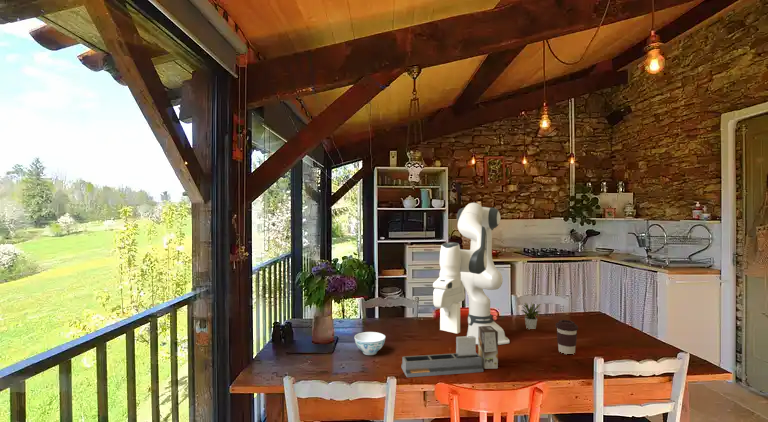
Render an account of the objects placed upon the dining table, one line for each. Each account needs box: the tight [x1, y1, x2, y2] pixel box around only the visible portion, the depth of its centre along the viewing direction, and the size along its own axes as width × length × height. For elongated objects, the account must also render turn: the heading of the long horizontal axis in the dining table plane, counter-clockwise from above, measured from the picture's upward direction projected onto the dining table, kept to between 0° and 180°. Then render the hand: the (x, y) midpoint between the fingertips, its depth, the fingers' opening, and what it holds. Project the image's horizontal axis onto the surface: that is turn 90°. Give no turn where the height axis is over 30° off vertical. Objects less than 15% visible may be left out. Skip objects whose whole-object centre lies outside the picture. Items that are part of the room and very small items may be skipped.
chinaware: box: [354, 331, 386, 356], centre depth 183 cm, size 15×15×8 cm
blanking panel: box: [439, 302, 461, 335], centre depth 157 cm, size 8×2×12 cm, turn 50°
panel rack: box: [400, 335, 484, 378], centre depth 163 cm, size 34×10×14 cm, turn 100°
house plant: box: [521, 301, 542, 330], centre depth 224 cm, size 14×14×16 cm
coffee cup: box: [555, 319, 579, 355], centre depth 185 cm, size 10×10×15 cm
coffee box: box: [477, 326, 499, 370], centre depth 169 cm, size 9×6×16 cm
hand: (449, 314), depth 157 cm, fingers closed on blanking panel, 2 cm apart
